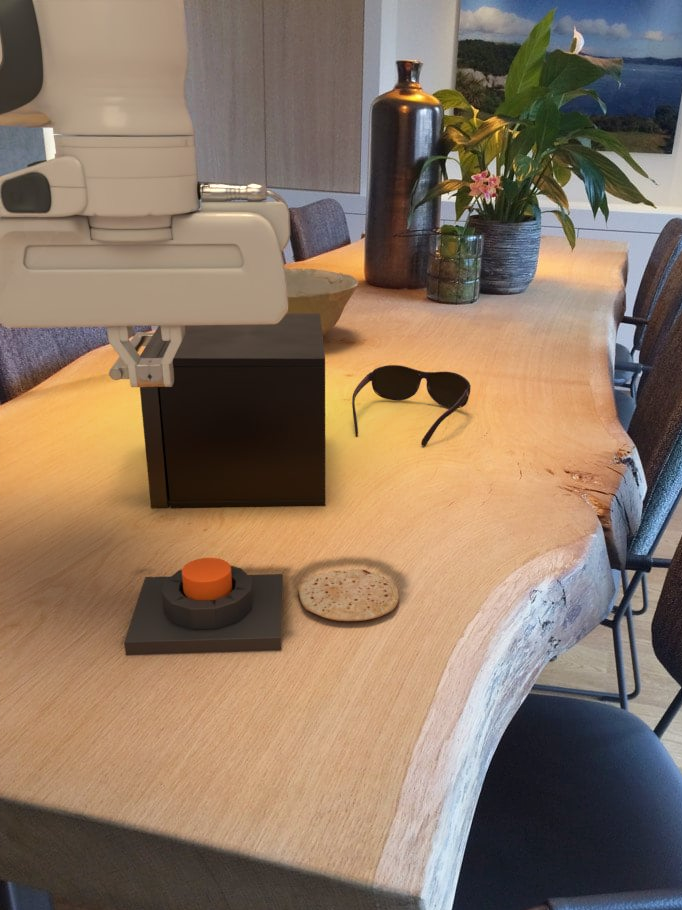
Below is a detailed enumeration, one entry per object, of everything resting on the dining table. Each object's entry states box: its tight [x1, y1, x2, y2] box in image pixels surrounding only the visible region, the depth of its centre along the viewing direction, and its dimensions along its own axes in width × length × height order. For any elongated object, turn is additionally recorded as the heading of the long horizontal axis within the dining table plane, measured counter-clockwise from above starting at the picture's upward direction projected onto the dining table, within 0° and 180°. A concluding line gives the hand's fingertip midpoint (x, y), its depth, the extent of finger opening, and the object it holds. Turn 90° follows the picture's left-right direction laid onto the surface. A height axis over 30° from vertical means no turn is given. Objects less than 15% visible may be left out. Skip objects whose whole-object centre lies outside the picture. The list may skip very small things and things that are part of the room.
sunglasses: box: [351, 364, 472, 447], centre depth 103 cm, size 14×16×5 cm
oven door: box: [108, 326, 170, 509], centre depth 85 cm, size 5×18×15 cm, turn 5°
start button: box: [182, 557, 232, 600], centre depth 62 cm, size 4×4×2 cm
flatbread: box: [297, 568, 400, 622], centre depth 66 cm, size 8×8×1 cm
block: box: [123, 565, 284, 656], centre depth 63 cm, size 11×9×3 cm
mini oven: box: [157, 313, 326, 510], centre depth 86 cm, size 15×18×15 cm
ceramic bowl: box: [285, 268, 359, 337], centre depth 137 cm, size 22×23×10 cm
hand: (152, 385), depth 61 cm, fingers closed
